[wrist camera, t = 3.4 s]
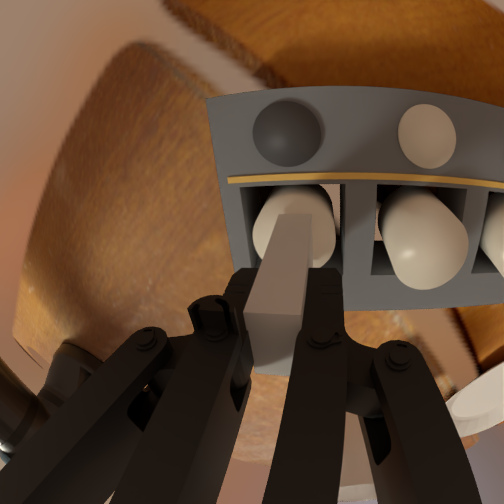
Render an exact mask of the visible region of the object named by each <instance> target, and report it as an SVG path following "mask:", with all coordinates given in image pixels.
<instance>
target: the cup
mask: <svg viewBox="0 0 504 504" xmlns="http://www.w3.org/2000/svg"><path fill="white" fill-rule="evenodd" d="M374 499H377V496H376V491H375V486H374V482H373V477H372V473H371V468H370V464H369V459H368V455H367V451H366V447H365V443H364V439H363V435H362V431H361V427H360V423H359V419H358V415H355V414H352V413H349V412H346V420H345V437H344V449H343V461H342V470H341V479H340V487H339V495H338V501H342V502H343V501H345V502H348V501H349V502H350V501H366V500H374Z"/></svg>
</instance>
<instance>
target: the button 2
mask: <svg viewBox="0 0 504 504" xmlns="http://www.w3.org/2000/svg"><path fill="white" fill-rule="evenodd" d="M378 228H379V231H380V234H381V236H382V239H383V242H384V244H385V247H386V249H387V252H388V255H389V258H390V260H391V263H392V266H393V269H394V272H395V274H396V276H397V277H398V278H399V280H400V281H401V282H402V283H404V284H405V285H407V286H409V287H411V288H414V289H419V290H427V289H433V288H436V287H439V286H441V285H443V284H445V283H446V282H448V281H449V280H451V279H452V278H453V277H454V276H455V275H456V274H457V273H458V271H459V270H460V269H461V267H462V265H463V264H464V262H465V259H466V256H467V253H468V246H469V242H468V235H467V232H466V229H465V227H464V225H463V224H462V223H461V221H460V220H459V219H458V218H457V217H456V216H455V215H454V214H453V213H452V212H451V211H450V210H449V209H448V208H447V207H446V206H445V205H444V204H443V203H442V202H441V201H440V200H439V199H438V198H437V197H436V196H435V195H434V194H433V193H432V192H431V191H430V190H428V189H426V188H424V187H422V186H415V185H407V186H403V187H400V188H398V189H396V190H394V191H393V192H392V193H391V194H389V195H388V196H387V198H386V199H385V200H384V202H383V203H382V205H381V208H380V210H379V214H378Z"/></svg>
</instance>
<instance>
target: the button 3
mask: <svg viewBox="0 0 504 504" xmlns="http://www.w3.org/2000/svg"><path fill="white" fill-rule="evenodd" d="M479 246H480V247H481V249H482V250H483V251H484V252H485V254H486V255H487V256H488V257H489V259H490V260H491V261H492V263H493V264H494V265H495V267H496V268H497V269H498V271H499V272H500V273H501V275H502V276H503V277H504V193H501V192H497V193H494V194H492V195H490V196H489V197H488V200H487V206H486V212H485V217H484V222H483V227H482V232H481V237H480V241H479Z"/></svg>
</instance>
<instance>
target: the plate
mask: <svg viewBox="0 0 504 504" xmlns="http://www.w3.org/2000/svg"><path fill="white" fill-rule="evenodd" d="M446 406H447V408H448V410H449V412H450V415H451V417H452V419H453V422H454V424H455V427H456V429H457V431H458V434H459V436H460V437H465V436H468V435H472V434H475V433H478V432H481V431H483V430H486V429H488V428H490V427H492V426H494V425H496V424H498V423H500V422H502V421H504V361H502V362H500V363H499V364H497V365H495V366H493V367H492V368H490V369H488V370H487V371H485V372H484V373H482V374H481V375H479V376H478V377H477V378H475V379H474V380H473V381H472V382H470V383H469V384H468V385H466V386H465V387H464V388H463V389H461V390H460V391H459V392H457V393H456V394H454V395H453V396H452V397H451V398H450V399H449V400H448V401H447V402H446Z"/></svg>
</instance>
